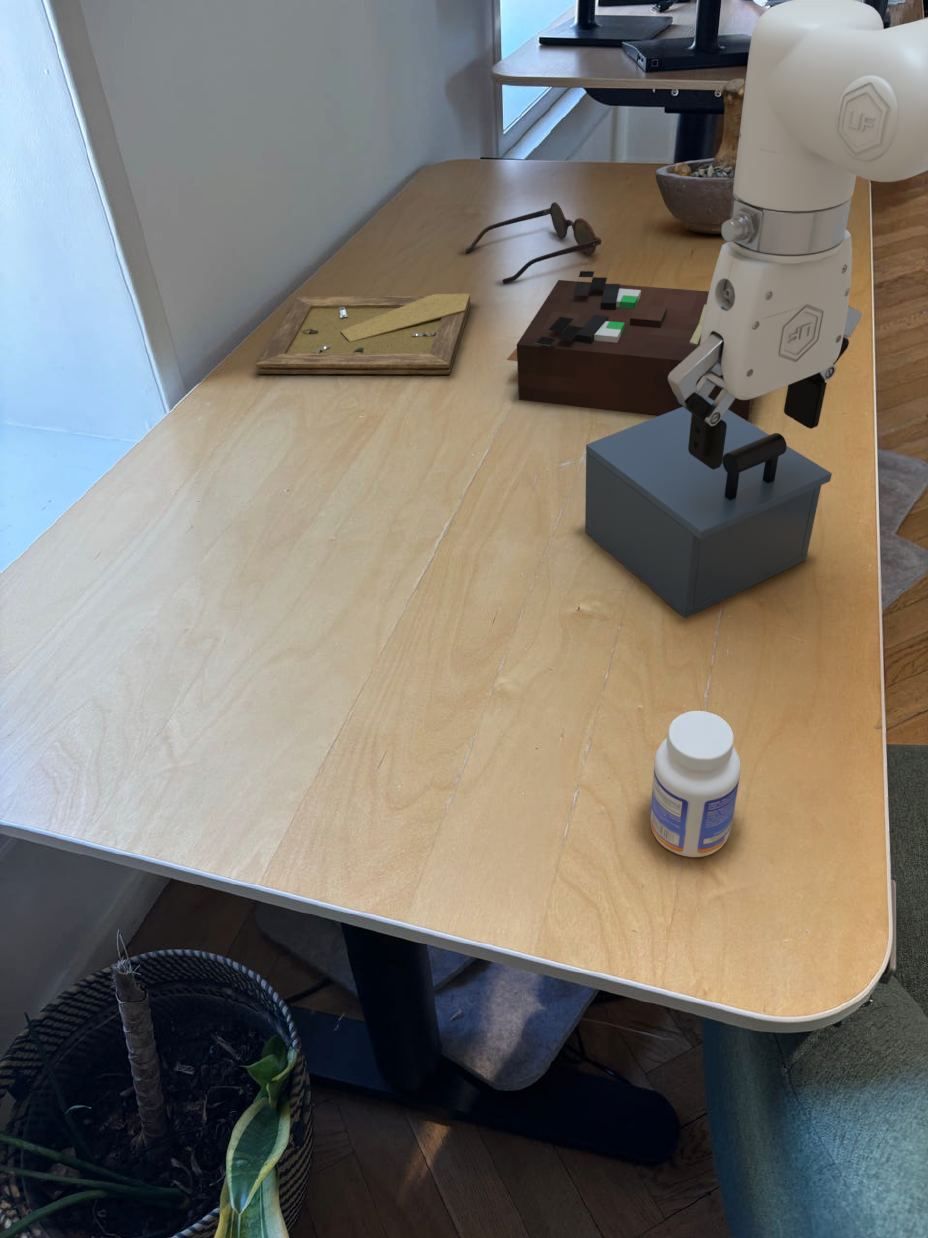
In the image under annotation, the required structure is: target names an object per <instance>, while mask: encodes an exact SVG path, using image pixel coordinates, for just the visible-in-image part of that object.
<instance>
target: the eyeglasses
mask: <svg viewBox="0 0 928 1238" xmlns="http://www.w3.org/2000/svg"><path fill="white" fill-rule="evenodd" d="M548 215H550V218H551V222H552V226H553V229H554V230H555V233H556V234H557V236H558V237H559V238H560V239H565V238H566V237H567V234H568V229H569V227H571V228H572V230H573V238H574V241H575V242H576V245H573V246H569V247H566V248H562V249H560V250H557V251H553V252H550V253H547V254H543V255H541V256H540V255H539V256H537V257H535V258H532V259H530V260H529V261H528V262H526V263H525V264H524V265H523V266H522V267H521V268H520V269H519V270H518V271H517V272H516V273H515V274H514V275H512V276H508V277H506V278H503V279H502V284H508V283H512V282H514V281H516V280H517V279H519V278H520V277H521V276H522V275H523V274H524V273H525V272H526V271H527V269H529V268H530V267H531V266H532V265H534V264H536V263H540V262H543V261H546V260H548V259H552V258H555V257H556V258H557V257H559V256H564V255H567V254H572V253H576V252H579V251H582V252H583V253H585V254H586V255H592V254H594V253H595V252H596V249H597V246H599V245H601V244H602V238H601V237H597V236H596V234H595V232H594V229H593V228H592V226H591V225H590V223H589V222H588V221H587V220H586V219H584V218H581V217H578V218H576V219H575V220H574V221H572V220H571V219H566V217H565V214H564V212H563V210H562V208H561V206H560V204H558V202H556V201H554V202H551V204H550V207H548V208H545V209H542V210H538V211H534V212H531V213H528V214H524V215H520V216H516V217H514V218H509V219H506V220H503V221H500V222H497V223H496V222H495V223H493V224H491V225H489V226H486V227H485V228H483V229H482V230H481V231H480V232H479V234H478V235H477V237H475V239H474V240H473V242H472V243H471V244H470V245H469V246H468V247H467V248H466V249H465V253H466V254H469V253H470V252H471V251H473V250H474V249H475V247H476V246H477V244H479V242H480V240H482V238H483V237H484V236H485V234H487V233H488V232H489V231H491V230H494V229H499V228H501V227H505V226H508V225H512V224H517V223H520V222H525V221H529V220H533V219H538V218H541V217H544V216H548Z"/></svg>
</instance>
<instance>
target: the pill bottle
mask: <svg viewBox="0 0 928 1238" xmlns="http://www.w3.org/2000/svg"><path fill="white" fill-rule="evenodd" d="M734 738H735V737H734V732H733V730H732V728H731V726H730V724H729V723H728V722H727V721H725V719H724V718H722V717H721V716H719V715H717V714H715V713H712V712H709V711H704V710H692V711H687V712H683V713H681V714H679V715H678V716H677V717H675V718H674V719H673V721H672V722H671V723H670V724H669V727H668V731H667V737H666V738H664V740H663V741H662V742H661V743H660V744H659V746H658V748H657V750H656V752H655V757H654V762H653V763H654V764H653V776H652V788H651V800H650V801H651V803H650V815H649V816H650V817H649V819H650V827H651V832H652V834H653V836H654V837H655V839H656V841H658V843H659V844H661V846H663V847H664V848H665V849H667V850H669V851H670V852H672V853H674V854H677V855H680V856H683V857H689V858H702V857H706V856H710V855H712V854H714V853H716V852H717V851H719V850H720V849H721V848H722V847H723V846H724V845H725V844H726V842H727V841H728V840H729V836H730V834H731V829H732V825H733V819H734V813H735V807H736V800H737V796H738V789H739V783H740V779H741V771H742V770H741V765H742V764H741V760H740V757H739V754H738V752H737V750H736V748H735V746H734V743H735V742H734V741H735V739H734Z"/></svg>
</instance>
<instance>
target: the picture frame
mask: <svg viewBox="0 0 928 1238" xmlns="http://www.w3.org/2000/svg"><path fill="white" fill-rule="evenodd" d="M471 304H472V303H471V294H470V293H432V294H430V295H385V296H383V295H382V296H381V295H377V296H376V295H373V296H371V295H370V296H369V295H368V296H365V295H363V296H361V295H360V296H296V297H295V298H294V300H293V302H292V303H291V305H290V306H289V308H288V310H287V312H286V313H285V315H284V317H283V319H282V320H281V322H280V323H279V325H278V327H277V329H275V332H274V333H273V335H272V337H271V338H270V340H269V342H268V343H267V345H266V347H265V348H264V349H263V351H262V353H261V355H260V356H259V358H258V360H257V361H256V367H257V368H258V369H257V373H258V374H263V375H264V374H266V375H267V374H273V375H276V374H277V375H278V374H279V375H280V374H282V375H283V374H285V375H287V374H288V375H296V374H298V375H302V374H303V375H450V374H451V372H452V368H453V365H454V362H455V358H456V356H457V351H458V349H459V345H460V343H461V342H460V341H461V339H462V335H463V332H464V329H465V325H466V323H467V319H468V315H469V313H470V310H471Z"/></svg>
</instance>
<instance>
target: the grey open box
mask: <svg viewBox="0 0 928 1238" xmlns="http://www.w3.org/2000/svg"><path fill="white" fill-rule="evenodd" d="M821 489H822V485H821V486H818V487H816V488H814V489H812V490H809V491H807V492H805V493H803V494H800V495H798V496H796V497H794V498H792V499H789V500H787V501H785V502H783V503H780V504H778V505H776V506H774V507H772V508H769V509H767V510H765V511H763V512H760V513H758V514H756V515H754V516H751V517H749V518H747V519H745V520H743V521H740V522H738V523H736V524H734V525H731V526H729V527H727V528H725V529H723V530H720V531H718V532H716V533H714V534H711V535H709V536H707V537H705V538H702V539H699V538H698V537H696V536H695V535H694V534H693V533H691V532H690V531H689V530H687V529H686V528H685V527H683V526H682V525H681V524H679V523H678V522H677V521H676V520H674V519H673V518H672V517H670V516H669V515H668V514H666V513H665V512H664V511H662V510H661V509H660V508H659V507H657V506H656V505H655V504H653V503H652V502H651V501H649V500H648V499H647V498H646V497H644V496H643V495H642V494H640V493H639V492H638V491H636V490H635V489H634V488H632V487H631V486H630V485H629V484H627V483H626V482H625V481H623V480H622V479H621V478H619V477H618V476H617V475H616V474H614V473H613V472H612V471H610V470H609V469H608V468H606V467H605V466H604V465H602V464H601V463H600V462H599V461H597V460H596V459H595V458H593V457H592V456H591V455H589V454H588V453H587V452H586V453H585V508H584V509H585V511H584V512H585V513H584V514H585V515H584V517H585V518H584V521H585V522H584V524H585V525H584V533H585V534H586V535H588V537H590V538H591V539H592V540H593V541H594V542H595V543H596V544H598V546H601V548H602V549H604V551H606V552H607V553H608V554H610V555H611V556H612V557H613V558H614V559H615V560H616V561H618V562H619V563H620V564H621V565H622V566H623V567H625V568H626V569H627V570H628V571H629V572H631V573H632V574H633V576H635V577H636V578H637V579H639V580H640V581H641V582H642V583H643V584H644V585H646V586H647V587H648V589H650V590H651V591H652V592H654V593H655V594H656V595H657V596H659V598H660V599H662V600H663V601H664V602H665V603H667V604H668V605H669V606H670V607H671V608H672V609H673V610H675V611H676V612H677V613H678V614H679V615H681V616H682V617H683V619H686V618H688V617H691V616H693V615H695V614H698V613H699V612H701V611H703V610H705V609H707V608H710V607H712V606H713V605H715V604H717V603H719V602H722V601H724V600H727V599H728V598H730V597H732V596H734V595H737V594H739V593H741V592H743V591H745V590H747V589H749V588H751V587H753V586H755V585H758V584H759V583H761V582H763V581H766V580H767V579H770V578H772V577H774V576H775V575H779V574H781V573H783V572H784V571H786V570H789V569H790V568H793V567H795V566H797V565H799V564H801V563H803V562H805V561H807V559H808V553H809V547H810V542H811V539H812V538H811V537H812V532H813V529H814V523H815V520H816V519H815V518H816V514H817V508H818V504H819V499H820V494H821Z"/></svg>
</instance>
